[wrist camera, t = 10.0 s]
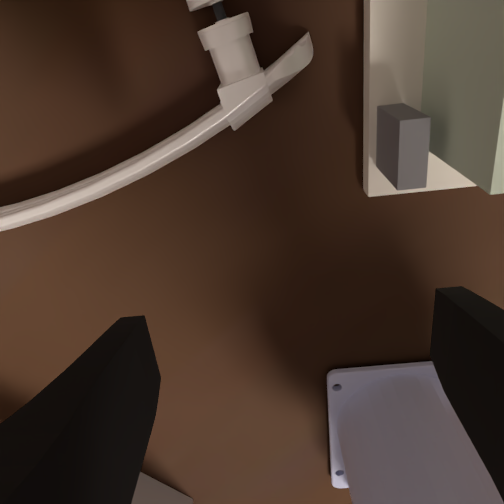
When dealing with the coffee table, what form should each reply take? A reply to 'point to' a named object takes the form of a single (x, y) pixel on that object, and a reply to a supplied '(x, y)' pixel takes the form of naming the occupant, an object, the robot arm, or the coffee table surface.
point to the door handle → (226, 113)
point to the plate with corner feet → (398, 104)
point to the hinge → (157, 492)
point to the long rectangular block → (466, 88)
